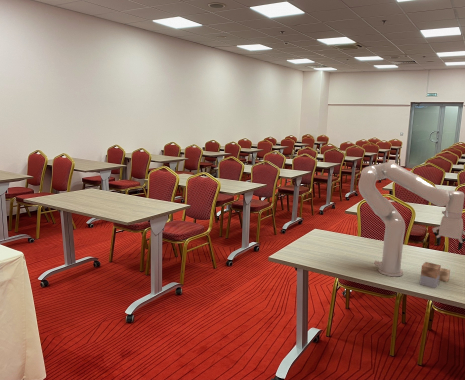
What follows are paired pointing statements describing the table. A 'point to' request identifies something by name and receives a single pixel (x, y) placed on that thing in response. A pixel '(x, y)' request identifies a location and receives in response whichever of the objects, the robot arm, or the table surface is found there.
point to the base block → (429, 281)
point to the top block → (430, 270)
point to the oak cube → (444, 274)
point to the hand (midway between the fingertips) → (448, 247)
